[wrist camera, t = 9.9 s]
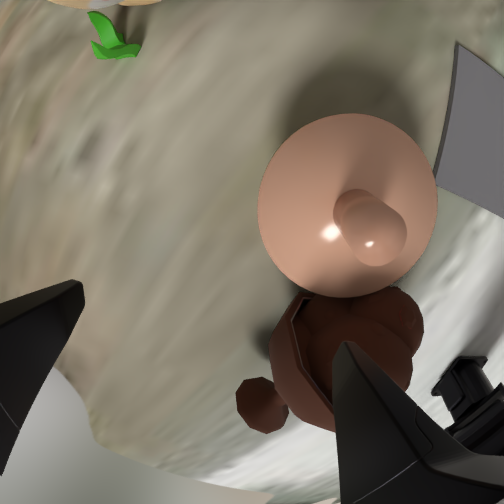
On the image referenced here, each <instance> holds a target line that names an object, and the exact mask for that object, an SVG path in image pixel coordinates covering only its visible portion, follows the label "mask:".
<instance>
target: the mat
mask: <svg viewBox="0 0 504 504" xmlns="http://www.w3.org/2000/svg"><path fill="white" fill-rule="evenodd" d="M433 175H434V178H435V183H436V185H437V186H439V187H441V188H443V189H446V190H448V191H450V192H452V193H454V194H457V195H459V196H461V197H463V198H465V199H467V200H469V201H471V202H473V203H475V204H477V205H479V206H481V207H483V208H485V209H487V210H489V211H491V212H492V213H494V214H496V215H498V216H500V217H502V218H503V219H504V78H503V77H502V76H501V75H500V74H498V73H497V72H496V71H495V70H493V69H492V68H491V67H490V66H488V65H487V64H486V63H484V62H483V61H482V60H480V59H479V58H478V57H476V56H475V55H473V54H472V53H471V52H469V51H468V50H466V49H465V48H463V47H462V46H460V45H457V46H455V53H454V64H453V74H452V82H451V89H450V96H449V102H448V108H447V114H446V119H445V124H444V129H443V134H442V138H441V143H440V147H439V151H438V155H437V159H436V163H435V167H434V170H433Z"/></svg>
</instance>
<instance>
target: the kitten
mask: <svg viewBox="0 0 504 504" xmlns="http://www.w3.org/2000/svg"><path fill="white" fill-rule="evenodd" d="M48 1H50V2H53V3H56V4H60V5H64V6H67V7H72V8H78V9H100V8H105V7H109V6H112V5H115V4H119V5H124V6H136V5H148V4H153V3H157V2H160V1H162V0H48ZM87 13H88V15H89V18H90V20H91V22H92V23H93V25H94V26H95V28H96V30H97V32H98V34H99V37H100V40H101V43H102V45H103V46H104V47H103V46H101V45H99V44H97V43H95V42H93V41H91V44H92V48H93V51H94V54H95V56H96V57H97V58H98V59H112V58H115V59H121V58H126V57H136V56H137V54H138V52H139V50H140V48H141V46H140V45H138V44H125V42H124V40H123V34H121V33H117V31H116V29H115V27H114V26H113V24H112V22H111V20H110V19H109V18H108V17H107V16H105V15H104V14H102V13H100V12H98V11H91V12H87ZM123 44H124V45H123Z"/></svg>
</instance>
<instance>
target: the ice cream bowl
mask: <svg viewBox="0 0 504 504" xmlns="http://www.w3.org/2000/svg"><path fill="white" fill-rule="evenodd" d="M423 333H424V325H423V317H422V314H421V312H420V309H419V306H418V305H417V304H416V302H415V301H414V300H413V299H412V298H411V297H410V296H409V295H408V294H406V293H405V292H403V291H401V289H400V288H398V287H390V286H387V287H385V288H383V289H381V290H379V291H376V292H373V293H371V294H367V295H363V296H357V297H350V298H338V297H329V296H324V295H320V294H314V293H304V292H299V293H298V294H297V296H296V297H295V298H294V300H293V301H292V302H291V304H290V305H289V306H288V308H287V310H286V311H285V313H284V315H283V316H282V318H281V320H280V321H279V323H278V325H277V326H276V328H275V329H274V331H273V334H272V336H271V339H270V341H269V344H268V347H269V356H270V363H271V369H272V374H273V380H274V382H272V381H270V380H268V379H266V378H264V377H258V378H252V379H246V380H244V381H243V382H242V384H241V385H240V387H239V388H238V390H237V391H236V402H237V411H238V413H239V414H240V415H241V417H242V418H243V419H244V421H245V422H246V423H247V425H248V426H249V427H250V428H252V429H255V430H257V431H260V432H263V433H265V434H268V433H271V432H273V431H276V430H279V429H281V428H282V427H283V426H284V424H285V421H286V419H287V417H288V414H289V410H288V407H289V408H290V409H291V411H292V412H293V413H294V415H296V416H297V417H298V418H300V419H301V420H302V421H304V422H307V423H309V424H312V425H315V426H317V427H320V428H323V429H326V430H329V431H332V432H335V433H336V431H335V421H334V412H333V400H332V362H333V358H334V356H335V354H336V352H337V350H338V348H339V346H340V345H341V343H342V342H343V341H351V342H355V343H356V344H357V345H358V346H359V347H360V348H361V349H362V350H363V351H364V352H365V353H366V354H367V355H368V356H369V357H370V358H371V359H372V360H373V361H374V362H375V363H376V364H377V365H378V366H379V367H380V368H381V369H382V370H383V371H384V372H385V373H386V374H387V375H388V376H389V377H390V378H391V379H392V380H393V381H394V382H395V383H396V384H397V385H398V386H399V387H400V388H401V389H402V390H403V391H404V392H405V391H406V390H407V389H408V387H409V385H410V381H411V376H412V372H413V365H412V357H413V356H414V354H415V353H416V351H417V350H418V348H419V347H420V345H421V341H422V337H423Z"/></svg>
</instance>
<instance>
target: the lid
mask: <svg viewBox="0 0 504 504" xmlns="http://www.w3.org/2000/svg"><path fill="white" fill-rule="evenodd" d="M437 203H438V200H437V188H436V183H435V178H434V175H433V172H432V169H431V167H430V165H429V162H428V160H427V158H426V156H425V155H424V153H423V152H422V150H421V149H420V147H419V146H418V145H417V144H416V143H415V142H414V140H413V139H412V138H411V137H410V136H408V135H407V134H406V133H405V132H404V131H403V130H401V129H400V128H398V127H397V126H395V125H393V124H392V123H390V122H387V121H385V120H383V119H381V118H377V117H374V116H370V115H364V114H357V113H350V114H338V115H332V116H327V117H324V118H321V119H318V120H315V121H313V122H311V123H309V124H307V125H305V126H303V127H302V128H300V129H299V130H297V131H296V132H294V133H293V134H292V135H291V136H290V137H289V138H287V139H286V140H285V141H284V142H283V143H282V145H281V146H280V147H279V148H278V149H277V151H276V152H275V153H274V155H273V157H272V158H271V160H270V162H269V163H268V166H267V168H266V170H265V173H264V175H263V178H262V182H261V185H260V190H259V197H258V223H259V229H260V233H261V237H262V240H263V243H264V245H265V247H266V250H267V252H268V253H269V255H270V257H271V258H272V260H273V262H274V263H275V264H276V265H277V267H278V268H279V269H280V270H281V271H282V272H283V273H284V274H285V275H286V276H287V277H288V278H289V279H290V280H292V281H293V282H295V283H296V284H297V285H299V286H301V287H303V288H305V289H307V290H309V291H311V292H314V293H317V294H320V295H324V296H329V297H338V298H350V297H357V296H363V295H367V294H371V293H373V292H376V291H379V290H381V289H383V288H385V287H387V286H389V285H391V284H392V283H394V282H395V281H397V280H398V279H399V278H401V277H402V276H403V275H404V274H405V273H407V272H408V271H409V270H410V269H411V267H412V266H413V265H414V264H415V263H416V262H417V260H418V259H419V258H420V256H421V255H422V253H423V252H424V250H425V248H426V246H427V245H428V242H429V240H430V238H431V235H432V232H433V229H434V226H435V221H436V216H437Z"/></svg>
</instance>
